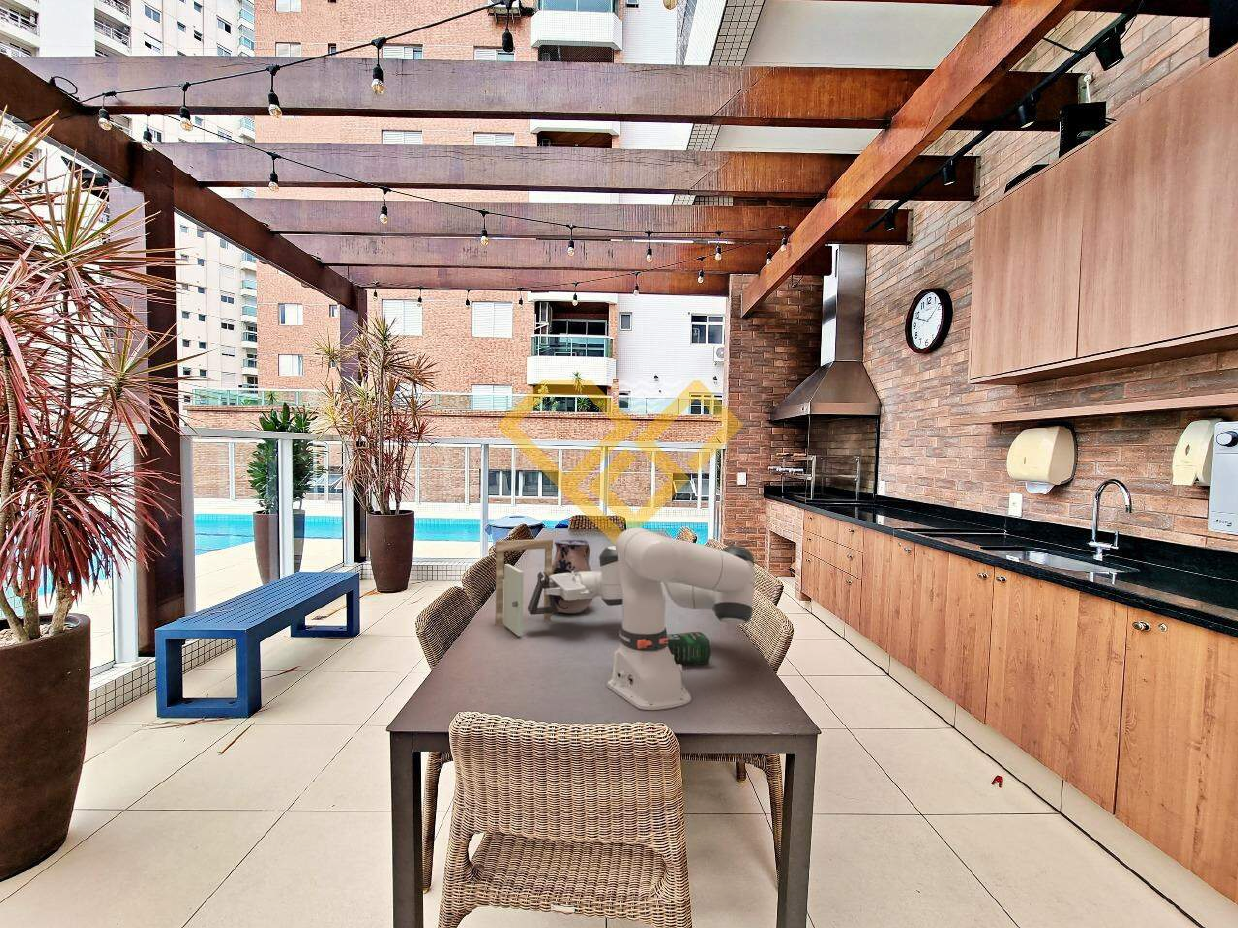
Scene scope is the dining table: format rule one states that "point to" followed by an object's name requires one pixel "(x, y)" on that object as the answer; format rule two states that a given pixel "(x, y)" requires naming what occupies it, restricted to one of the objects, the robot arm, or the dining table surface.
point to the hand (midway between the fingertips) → (542, 588)
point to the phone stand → (536, 598)
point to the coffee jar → (689, 648)
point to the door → (513, 599)
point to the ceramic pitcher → (571, 559)
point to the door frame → (500, 549)
